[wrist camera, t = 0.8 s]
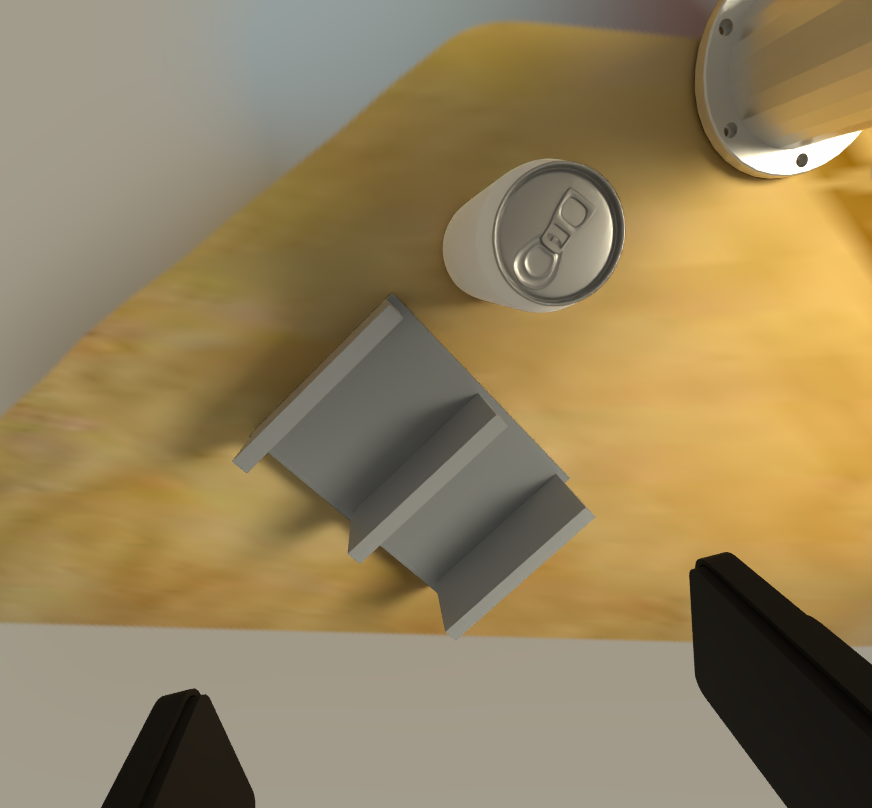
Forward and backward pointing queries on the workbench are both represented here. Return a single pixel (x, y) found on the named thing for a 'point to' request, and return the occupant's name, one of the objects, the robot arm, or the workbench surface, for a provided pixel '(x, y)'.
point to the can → (537, 237)
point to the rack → (422, 465)
